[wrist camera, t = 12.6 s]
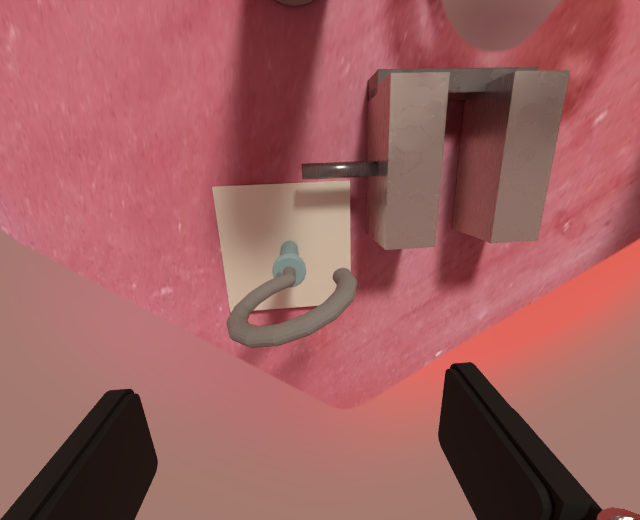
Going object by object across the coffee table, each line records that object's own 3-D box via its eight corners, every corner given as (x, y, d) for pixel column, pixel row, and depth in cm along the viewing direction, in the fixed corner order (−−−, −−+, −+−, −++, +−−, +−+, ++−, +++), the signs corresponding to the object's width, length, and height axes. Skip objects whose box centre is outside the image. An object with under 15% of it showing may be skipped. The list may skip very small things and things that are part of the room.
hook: (324, 221, 27) (366, 284, 13) (333, 246, 28) (380, 330, 14) (244, 250, 27) (200, 342, 13) (255, 274, 28) (224, 385, 14)
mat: (348, 180, 27) (349, 180, 27) (349, 300, 31) (350, 303, 30) (213, 186, 26) (212, 186, 26) (231, 309, 30) (230, 312, 29)
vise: (510, 77, 26) (573, 53, 20) (490, 225, 30) (537, 240, 24) (295, 81, 24) (297, 56, 19) (304, 236, 28) (308, 254, 23)
